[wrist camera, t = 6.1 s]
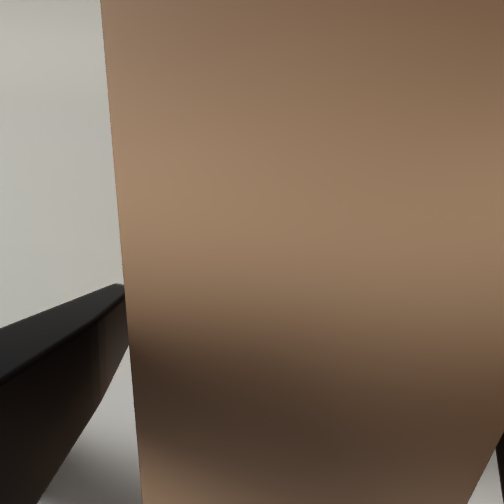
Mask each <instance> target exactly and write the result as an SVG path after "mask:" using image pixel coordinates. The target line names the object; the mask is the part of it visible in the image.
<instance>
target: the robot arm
mask: <svg viewBox="0 0 504 504" xmlns="http://www.w3.org/2000/svg"><path fill="white" fill-rule="evenodd" d="M128 346H129V337H128V325H127V313H126V301H125V289H124V285H122V284H112V285H109V286H107V287H104V288H102V289H99V290H97V291H94V292H92V293H89V294H87V295H84V296H81V297H79V298H76V299H74V300H71V301H69V302H66V303H64V304H61V305H59V306H56V307H53V308H51V309H48V310H46V311H43V312H41V313H38V314H36V315H33V316H30V317H28V318H25V319H23V320H20V321H18V322H15V323H13V324H10V325H8V326H5V327H2V328H0V504H37V503H38V501H39V500H40V498H41V497H42V495H43V493H44V491H45V490H46V488H47V487H48V485H49V484H50V482H51V480H52V479H53V477H54V476H55V474H56V472H57V471H58V469H59V468H60V466H61V465H62V463H63V461H64V460H65V458H66V457H67V455H68V453H69V452H70V450H71V449H72V447H73V446H74V444H75V442H76V441H77V439H78V438H79V436H80V435H81V433H82V431H83V430H84V428H85V427H86V425H87V423H88V422H89V420H90V419H91V417H92V416H93V414H94V412H95V411H96V409H97V407H98V406H99V404H100V402H101V401H102V399H103V397H104V395H105V393H106V391H107V389H108V387H109V385H110V383H111V381H112V379H113V376H114V374H115V372H116V370H117V368H118V366H119V364H120V362H121V360H122V358H123V356H124V354H125V352H126V350H127V348H128ZM496 455H497V462H498V469H499V476H500V483H501V490H502V497H503V503H504V432H503V434H502V436H501V438H500V440H499V442H498V444H497V446H496Z"/></svg>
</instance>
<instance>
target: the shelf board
mask: <svg viewBox="0 0 504 504" xmlns="http://www.w3.org/2000/svg"><path fill="white" fill-rule="evenodd" d="M100 3H101V15H102V27H103V39H104V51H105V63H106V75H107V86H108V98H109V110H110V122H111V134H112V146H113V158H114V170H115V182H116V194H117V206H118V218H119V230H120V242H121V253H122V265H123V277H124V289H125V301H126V313H127V325H128V337H129V349H130V361H131V373H132V385H133V397H134V408H135V420H136V432H137V444H138V456H139V468H140V480H141V492H142V504H467V503H468V501H469V499H470V497H471V495H472V493H473V491H474V489H475V487H476V485H477V483H478V481H479V479H480V477H481V475H482V473H483V471H484V470H485V468H486V466H487V464H488V462H489V460H490V458H491V456H492V454H493V452H494V450H495V448H496V446H497V444H498V442H499V440H500V438H501V436H502V434H503V432H504V0H100Z"/></svg>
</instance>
